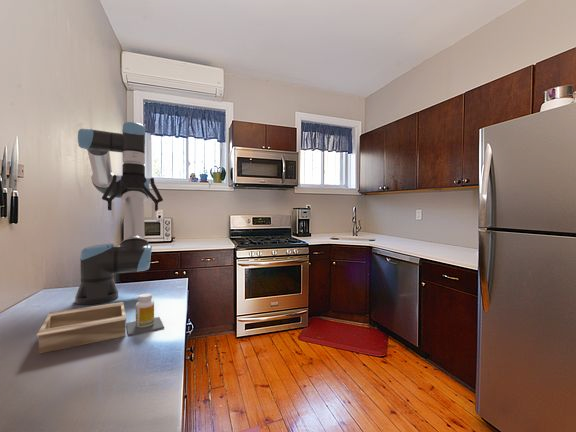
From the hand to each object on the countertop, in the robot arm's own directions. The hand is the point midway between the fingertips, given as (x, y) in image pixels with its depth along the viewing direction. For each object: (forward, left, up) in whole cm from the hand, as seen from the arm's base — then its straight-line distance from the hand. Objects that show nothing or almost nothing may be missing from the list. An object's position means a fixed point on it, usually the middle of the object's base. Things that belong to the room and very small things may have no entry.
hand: (133, 219), depth 104 cm
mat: (+20, +2, -35) cm, 40 cm away
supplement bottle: (+20, +2, -34) cm, 40 cm away
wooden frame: (+18, -14, -35) cm, 41 cm away
